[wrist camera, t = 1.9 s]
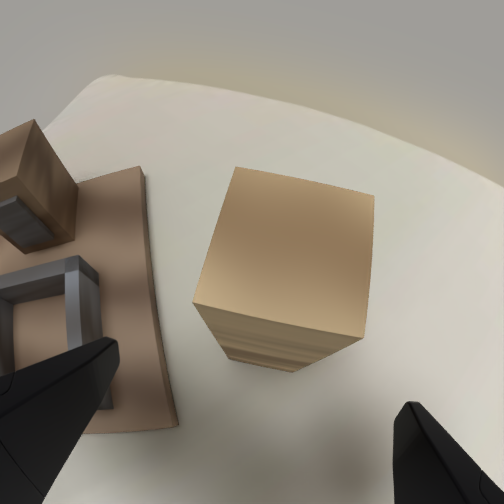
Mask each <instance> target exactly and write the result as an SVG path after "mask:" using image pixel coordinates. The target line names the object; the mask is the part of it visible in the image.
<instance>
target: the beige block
mask: <svg viewBox="0 0 504 504" xmlns="http://www.w3.org/2000/svg"><path fill="white" fill-rule="evenodd" d="M373 227H374V196H373V195H369V194H365V193H361V192H357V191H353V190H349V189H344V188H340V187H336V186H331V185H327V184H322V183H318V182H313V181H309V180H304V179H299V178H294V177H289V176H284V175H279V174H274V173H268V172H263V171H258V170H252V169H246V168H240V167H235V170H234V173H233V176H232V179H231V182H230V185H229V188H228V191H227V194H226V197H225V200H224V203H223V206H222V209H221V212H220V215H219V218H218V221H217V224H216V227H215V230H214V233H213V236H212V240H211V243H210V246H209V249H208V252H207V255H206V259H205V262H204V265H203V268H202V272H201V275H200V278H199V281H198V285H197V288H196V291H195V295H194V298H193V304H194V306H195V307H196V309H197V310H198V312H199V314H200V315H201V317H202V318H203V320H204V321H205V323H206V325H207V326H208V328H209V329H210V331H211V332H212V334H213V335H214V337H215V338H216V340H217V342H218V343H219V345H220V346H221V348H222V349H223V351H224V352H225V354H226V355H227V357H228V358H229V359H232V360H236V361H240V362H245V363H249V364H253V365H258V366H263V367H267V368H272V369H277V370H282V371H287V372H294V371H297V370H299V369H301V368H303V367H306V366H308V365H310V364H312V363H314V362H316V361H319V360H321V359H323V358H325V357H327V356H329V355H331V354H333V353H335V352H337V351H339V350H341V349H343V348H345V347H347V346H349V345H351V344H353V343H355V342H357V341H359V340H361V339H363V338H364V332H365V324H366V316H367V307H368V298H369V287H370V276H371V263H372V247H373Z"/></svg>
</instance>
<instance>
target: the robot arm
mask: <svg viewBox="0 0 504 504" xmlns="http://www.w3.org/2000/svg"><path fill="white" fill-rule="evenodd" d="M119 364H120V354H119V344H118V341H117V340H116V339H113V338H110V337H107V336H105V337H102V338H99V339H97V340H94V341H92V342H89V343H87V344H84V345H82V346H79V347H76V348H74V349H71V350H69V351H66V352H64V353H61V354H58V355H56V356H53V357H51V358H48V359H46V360H43V361H40V362H38V363H35V364H32V365H30V366H27V367H25V368H22V369H19V370H17V371H15V372H11V373H8V374H6V375H3V376H0V504H42V503H43V501H44V499H45V498H44V497H46V495H47V493H48V492H49V490H50V488H51V486H52V484H53V483H54V481H55V479H56V477H57V476H58V474H59V472H60V471H61V469H62V467H63V465H64V464H65V462H66V460H67V459H68V457H69V455H70V454H71V452H72V450H73V449H74V447H75V445H76V444H77V442H78V440H79V439H80V437H81V435H82V434H83V432H84V430H85V429H86V427H87V425H88V424H89V422H90V421H91V419H92V417H93V416H94V414H95V413H96V411H97V409H98V408H99V406H100V404H101V402H102V400H103V398H104V396H105V394H106V392H107V390H108V388H109V386H110V384H111V382H112V380H113V377H114V375H115V373H116V371H117V369H118V367H119ZM393 480H394V503H395V504H504V492H503V491H502V490H501V489H500V488H499V487H498V486H497V485H496V484H495V483H494V482H493V481H492V480H491V479H490V478H489V477H488V476H487V475H486V473H485V472H484V471H483V470H481V468H480V467H479V466H478V465H477V464H476V463H475V461H474V460H473V459H472V458H471V457H470V456H469V455H468V454H467V453H466V452H465V451H464V450H463V448H462V447H461V446H460V445H459V444H458V443H457V442H456V441H455V440H454V439H453V438H452V437H451V436H450V434H449V433H448V432H447V431H446V430H445V429H444V428H443V427H442V426H441V425H440V424H439V423H438V422H437V421H436V419H435V418H434V417H433V416H432V415H431V414H430V413H429V412H428V411H427V410H426V409H425V408H424V407H423V406H422V405H421V404H420V403H419V402H414V401H408V402H406V403H405V404H404V406H403V407H402V409H401V410H400V412H399V413H398V415H397V416H396V418H395V421H394V436H393Z"/></svg>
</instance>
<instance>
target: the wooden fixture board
mask: <svg viewBox="0 0 504 504" xmlns="http://www.w3.org/2000/svg"><path fill="white" fill-rule="evenodd" d="M105 336H107V337H110V338H113V339H116V340H117V341H118V344H119V354H120V364H119V367H118V369H117V371H116V373H115V375H114V377H113V380H112V382H111V384H110V386H109V388H108V390H107V392H106V394H105V396H104V398H103V400H102V402H101V404H100V406H99V408H98V409H97V411H96V413H95V414H94V416H93V417H92V419H91V421H90V422H89V424H88V425H87V427H86V429H85V430H84V432H83V434H90V433H116V432H131V431H143V430H153V429H163V428H171V427H175V426H177V425H179V424H178V420H177V415H176V411H175V406H174V402H173V397H172V392H171V388H170V383H169V378H168V372H167V367H166V362H165V356H164V351H163V345H162V339H161V333H160V326H159V320H158V313H157V306H156V298H155V291H154V283H153V274H152V266H151V256H150V246H149V235H148V223H147V209H146V193H145V176H144V174H143V172H142V169H141V167H140V166H137V167H133V168H129V169H125V170H121V171H118V172H114V173H111V174H107V175H104V176H100V177H97V178H93V179H90V180H87V181H83V182H80V183H77V184H76V183H75V182H74V180H73V179H72V177H71V176H70V174H69V173H68V171H67V170H66V168H65V167H64V165H63V164H62V162H61V161H60V159H59V158H58V156H57V155H56V153H55V152H54V150H53V148H52V147H51V145H50V144H49V142H48V140H47V139H46V137H45V136H44V134H43V132H42V131H41V129H40V128H39V126H38V125H37V123H36V121H35V119H33V120H31V121H28V122H26V123H24V124H22V125H20V126H17V127H15V128H13V129H12V130H9V131H7V132H5V133H3V134H1V135H0V376H3V375H6V374H8V373H11V372H15V371H17V370H19V369H22V368H25V367H27V366H30V365H32V364H35V363H38V362H40V361H43V360H46V359H48V358H51V357H53V356H56V355H58V354H61V353H64V352H66V351H69V350H71V349H74V348H76V347H79V346H82V345H84V344H87V343H89V342H92V341H94V340H97V339H99V338H102V337H105Z"/></svg>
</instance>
